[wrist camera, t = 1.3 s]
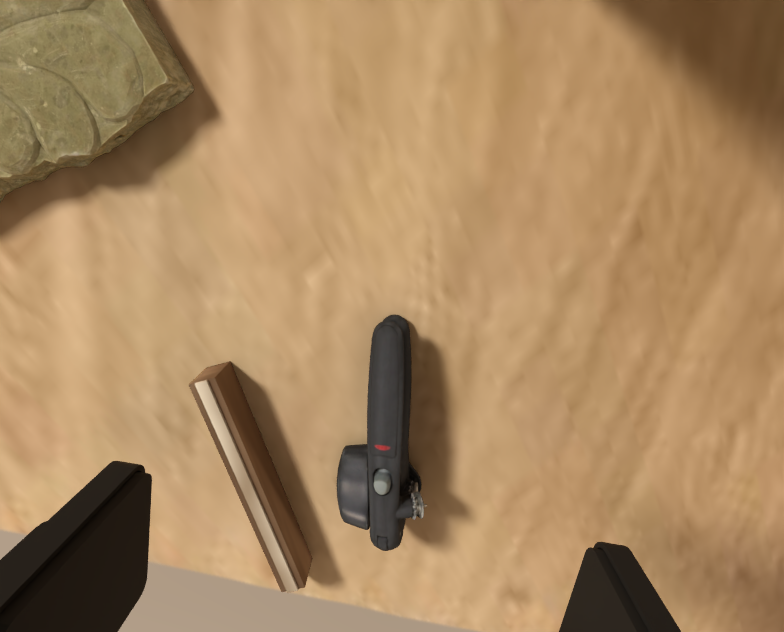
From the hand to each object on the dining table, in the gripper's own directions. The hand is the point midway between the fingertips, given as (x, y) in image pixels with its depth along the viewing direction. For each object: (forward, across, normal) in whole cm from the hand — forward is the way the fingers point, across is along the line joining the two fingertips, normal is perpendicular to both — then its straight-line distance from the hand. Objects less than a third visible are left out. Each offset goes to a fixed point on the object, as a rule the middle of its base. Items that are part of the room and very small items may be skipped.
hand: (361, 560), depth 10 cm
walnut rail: (+26, +8, +16) cm, 31 cm away
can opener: (+26, -1, +10) cm, 28 cm away
